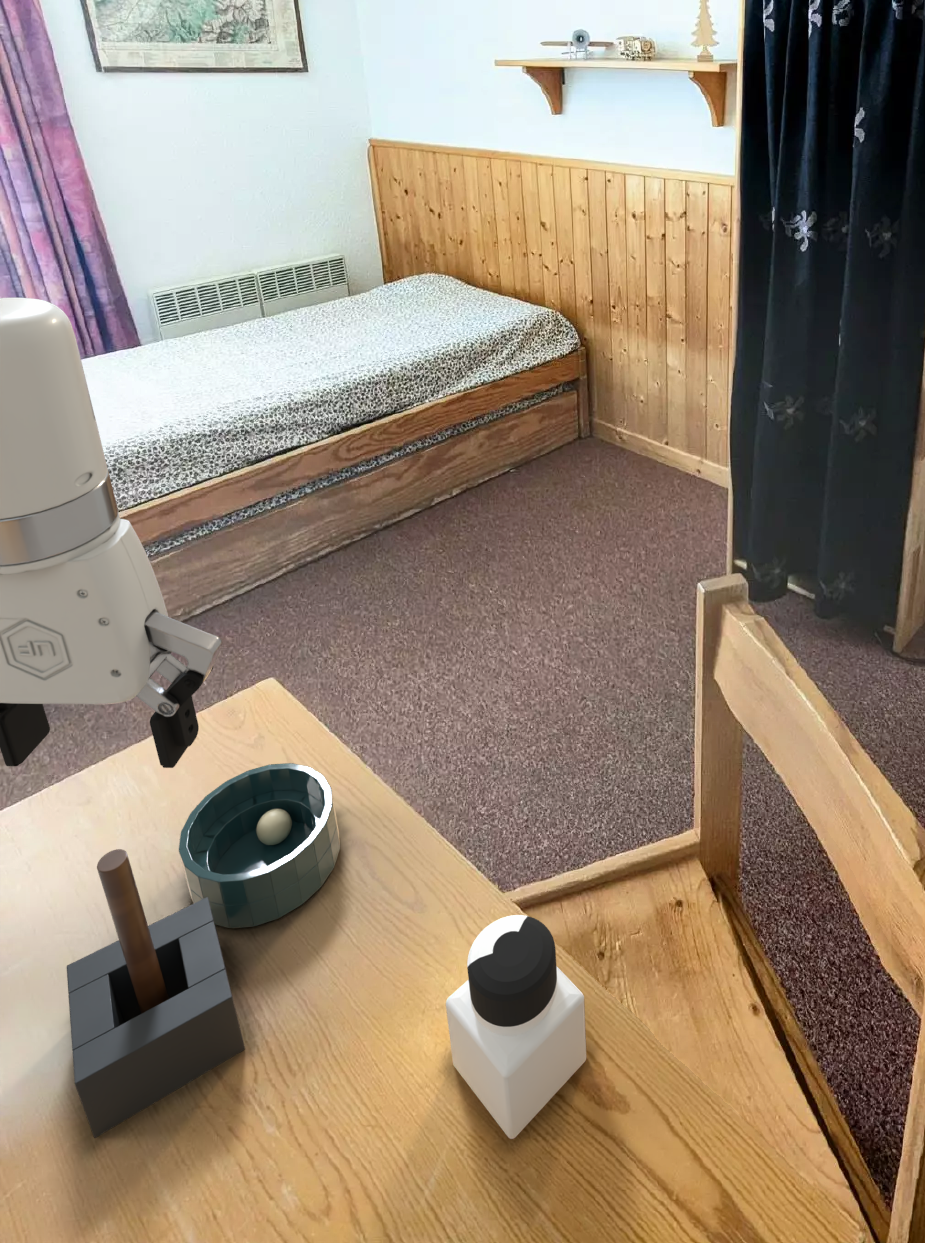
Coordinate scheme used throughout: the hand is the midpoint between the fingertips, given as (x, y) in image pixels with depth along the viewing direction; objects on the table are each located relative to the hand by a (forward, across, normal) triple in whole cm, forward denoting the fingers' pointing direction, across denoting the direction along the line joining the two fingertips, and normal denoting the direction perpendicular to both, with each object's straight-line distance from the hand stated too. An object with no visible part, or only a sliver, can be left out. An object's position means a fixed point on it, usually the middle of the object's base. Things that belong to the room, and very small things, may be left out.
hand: (104, 750), depth 55 cm
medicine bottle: (+28, +25, -1) cm, 38 cm away
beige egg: (+26, 0, +17) cm, 31 cm away
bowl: (+28, 0, +14) cm, 31 cm away
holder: (+28, -2, 0) cm, 28 cm away
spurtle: (+28, -2, 0) cm, 28 cm away
